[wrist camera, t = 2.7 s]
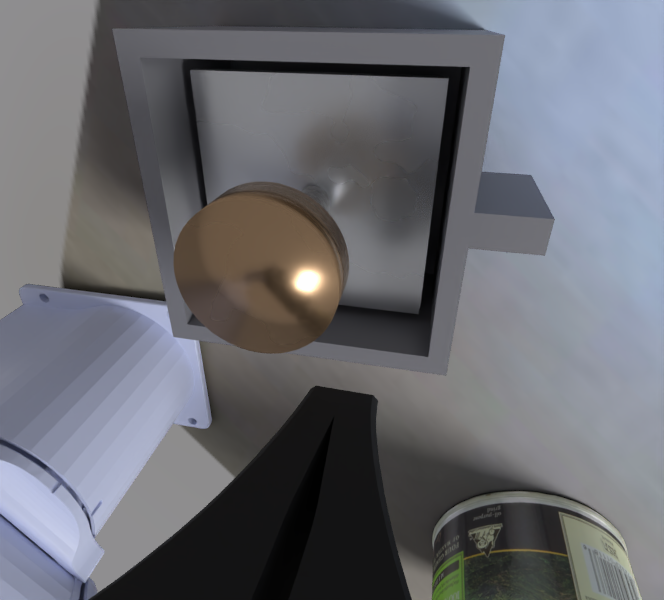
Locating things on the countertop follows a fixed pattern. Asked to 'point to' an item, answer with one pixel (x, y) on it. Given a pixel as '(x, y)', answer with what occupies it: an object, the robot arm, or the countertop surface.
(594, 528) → the coffee can
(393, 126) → the plunger
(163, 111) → the grey open box
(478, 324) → the countertop surface
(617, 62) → the countertop surface
